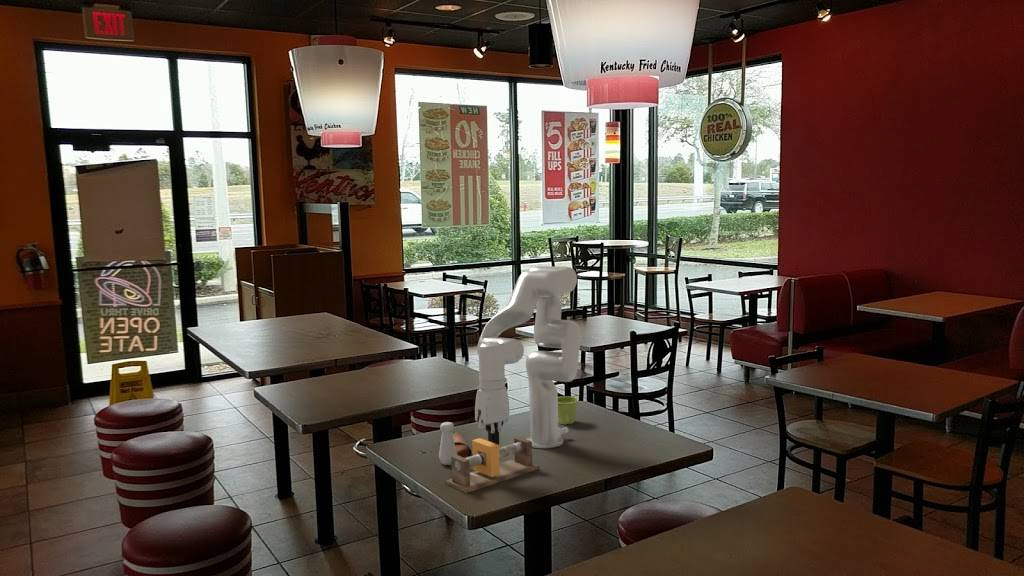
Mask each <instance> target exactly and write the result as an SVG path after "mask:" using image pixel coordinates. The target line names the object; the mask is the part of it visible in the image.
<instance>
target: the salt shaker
mask: <svg viewBox="0 0 1024 576" xmlns="http://www.w3.org/2000/svg"><path fill="white" fill-rule="evenodd" d="M454 425H455V424H454V423H453V422H450V421H445V422H442V423H441V424H440V426H439V428H440V431H441V437H440V438H441V439H440V442H441V444H439V452H438V457H439V458H438V459H439V461H440V462H441V464H442V465H443V466H452V465H451V464H452V461H451V457H452V456H455V455H457V451H456V447H455V443H454V438H453V434H454V433H453V431H454V429H455V426H454Z"/></svg>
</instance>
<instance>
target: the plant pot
mask: <svg viewBox="0 0 1024 576" xmlns="http://www.w3.org/2000/svg"><path fill="white" fill-rule="evenodd" d="M578 402H579V398H578V397H575V396H558V424H560V425H563V426H565V425H572V424H574V423H575V421H576V420H575V419H576V412H577V411H576V410H577V404H578Z"/></svg>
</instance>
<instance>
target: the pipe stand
mask: <svg viewBox="0 0 1024 576" xmlns="http://www.w3.org/2000/svg"><path fill="white" fill-rule="evenodd" d="M512 455H514V458H512V459H510V460H507V461H502V462H499V465H500V475H497V476H494V477H490V476H488V475H485V474H483V473H481V472H478V471H476V470H473V471H472V472H471V470H470V468H473V466H477V465H481V464H483V463H486V453H479V454H476V455H474V456H473V455H471V456H466V457H461V456H458V455H455V456H452V457H451V461H452V465H451V478H449V479H446V480H445V485H447V486H450V487H451V486H452V487H451V488H454V489H456V490H458V491H460V492H462V491H463V492H462V493H464V492H465V493H464V494H468V492H469V493H472V492H474V491H476V490H479V489H483V488H487V487H490V486H492V485H495V484H498V483H501V482H504V481H507V480H510V479H513V478H516V477H519V476H521V475H525V474H527V473H531V472H533V471H537V470H540V465H538V464H537V463H534V462H533V447H532V441H530V440H527V438H523V437H520V436H516V437H514V438H513V443H512V444H508V445H504V446H501V447H499V459H501V458H505V457H509V456H512Z"/></svg>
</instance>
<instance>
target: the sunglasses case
mask: <svg viewBox="0 0 1024 576" xmlns="http://www.w3.org/2000/svg"><path fill="white" fill-rule="evenodd" d="M453 438H454V443H455V447H456V451H457V455H458V456H465V457H470V456H472V455H473V454H472V448H470V446H469V444H468V443H467V441H466V440H465V438H464V437H463V435H462V434H461V433H460V432H459V431H458V430H457V431H455V432H454V433H453ZM438 444H439V445H440V444H441V441H439V442H438ZM468 455H470V456H468Z"/></svg>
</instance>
